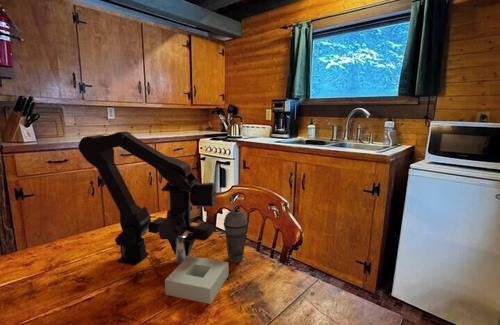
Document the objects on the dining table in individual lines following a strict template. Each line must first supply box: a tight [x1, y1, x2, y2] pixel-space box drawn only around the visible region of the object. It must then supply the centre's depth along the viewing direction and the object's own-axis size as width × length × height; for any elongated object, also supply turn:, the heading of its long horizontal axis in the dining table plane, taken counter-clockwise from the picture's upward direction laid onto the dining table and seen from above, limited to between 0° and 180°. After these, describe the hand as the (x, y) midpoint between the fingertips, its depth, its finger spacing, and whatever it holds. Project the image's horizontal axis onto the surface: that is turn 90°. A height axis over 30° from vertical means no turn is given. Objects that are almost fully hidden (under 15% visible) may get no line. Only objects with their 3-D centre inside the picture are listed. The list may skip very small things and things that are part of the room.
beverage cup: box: [223, 195, 249, 263], centre depth 83 cm, size 7×7×20 cm
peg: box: [175, 233, 187, 265], centre depth 82 cm, size 4×4×8 cm
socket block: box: [164, 255, 229, 305], centre depth 71 cm, size 12×12×4 cm
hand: (181, 254), depth 83 cm, fingers closed on peg, 3 cm apart
